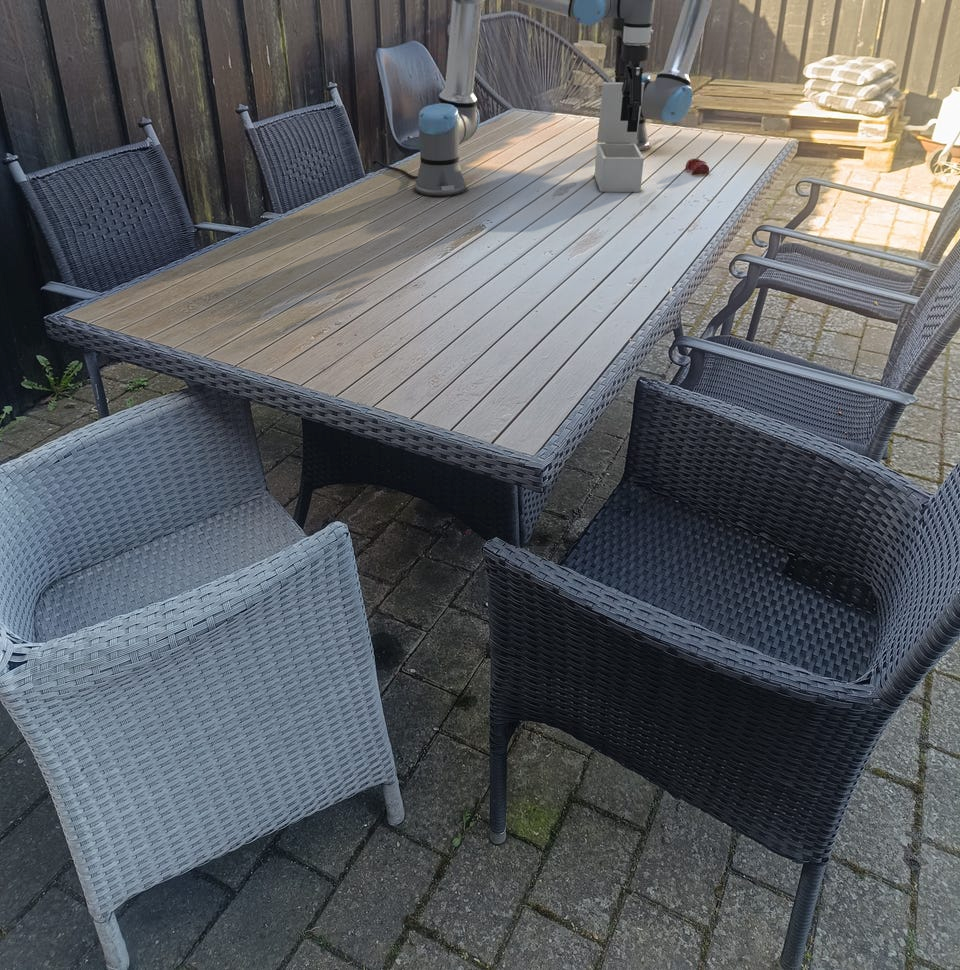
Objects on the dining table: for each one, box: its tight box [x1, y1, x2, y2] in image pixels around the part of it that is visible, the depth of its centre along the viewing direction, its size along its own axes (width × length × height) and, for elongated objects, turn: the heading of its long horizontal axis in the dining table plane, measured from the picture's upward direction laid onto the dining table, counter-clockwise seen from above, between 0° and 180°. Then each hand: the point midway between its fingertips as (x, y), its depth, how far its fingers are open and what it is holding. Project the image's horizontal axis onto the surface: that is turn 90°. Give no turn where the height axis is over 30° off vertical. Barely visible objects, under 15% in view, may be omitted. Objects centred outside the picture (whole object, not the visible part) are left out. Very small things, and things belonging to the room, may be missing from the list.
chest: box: [594, 143, 645, 193], centre depth 261 cm, size 17×12×10 cm
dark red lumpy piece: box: [684, 157, 710, 176], centre depth 272 cm, size 6×4×8 cm
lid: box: [596, 81, 644, 144], centre depth 260 cm, size 18×12×9 cm
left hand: (628, 126), depth 243 cm, fingers open, 13 cm apart
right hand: (618, 100), depth 261 cm, fingers closed on lid, 1 cm apart
